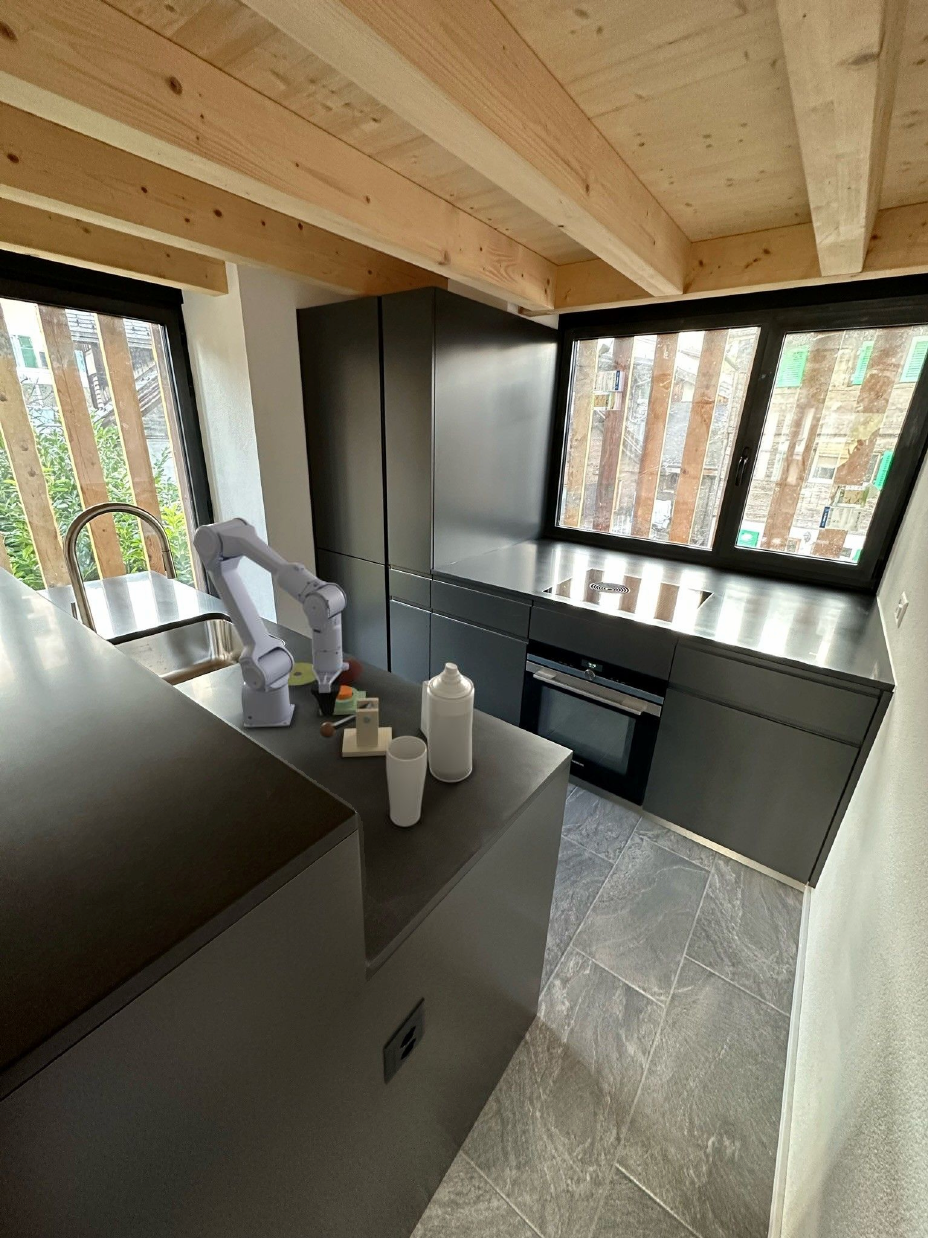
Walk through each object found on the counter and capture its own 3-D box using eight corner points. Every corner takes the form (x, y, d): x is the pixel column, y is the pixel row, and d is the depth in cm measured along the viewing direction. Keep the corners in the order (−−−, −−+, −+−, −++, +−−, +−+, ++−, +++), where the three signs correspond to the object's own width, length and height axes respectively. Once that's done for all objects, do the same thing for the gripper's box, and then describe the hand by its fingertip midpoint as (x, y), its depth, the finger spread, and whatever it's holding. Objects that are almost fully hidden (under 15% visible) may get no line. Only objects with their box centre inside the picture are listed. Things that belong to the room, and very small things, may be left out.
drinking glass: (418, 835, 87) (421, 764, 81) (380, 827, 88) (380, 756, 82) (428, 806, 93) (432, 739, 87) (393, 799, 94) (393, 732, 88)
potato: (320, 686, 128) (319, 664, 125) (350, 670, 136) (349, 650, 133) (341, 696, 124) (340, 674, 122) (370, 679, 132) (370, 658, 130)
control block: (319, 715, 117) (319, 704, 115) (323, 696, 124) (322, 685, 123) (364, 714, 118) (364, 703, 117) (365, 695, 125) (365, 684, 124)
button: (333, 700, 118) (333, 694, 117) (335, 691, 121) (334, 685, 121) (351, 700, 118) (351, 694, 118) (352, 690, 122) (352, 685, 121)
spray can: (484, 786, 99) (495, 673, 89) (431, 797, 95) (436, 681, 85) (463, 749, 109) (471, 644, 99) (414, 758, 105) (417, 650, 95)
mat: (314, 665, 137) (314, 659, 136) (326, 685, 128) (326, 679, 127) (270, 674, 132) (269, 667, 131) (279, 695, 123) (279, 688, 122)
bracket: (342, 757, 104) (340, 716, 100) (344, 733, 111) (343, 694, 107) (392, 755, 106) (392, 715, 102) (391, 731, 113) (391, 693, 109)
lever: (324, 743, 105) (316, 732, 103) (325, 733, 108) (317, 722, 106) (377, 719, 104) (369, 707, 103) (377, 710, 107) (369, 699, 106)
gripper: (345, 663, 95) (347, 724, 100) (350, 629, 108) (351, 685, 113) (305, 663, 94) (309, 725, 99) (315, 629, 107) (318, 685, 112)
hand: (329, 704), depth 106 cm, fingers open, 7 cm apart
